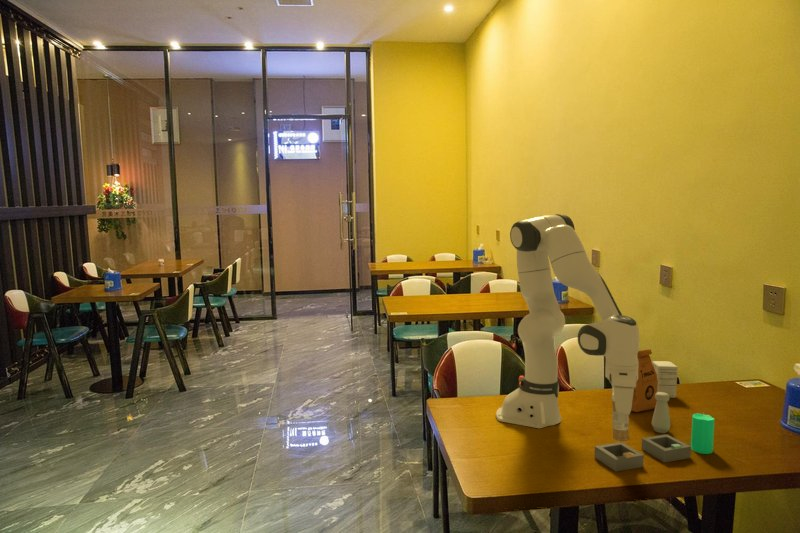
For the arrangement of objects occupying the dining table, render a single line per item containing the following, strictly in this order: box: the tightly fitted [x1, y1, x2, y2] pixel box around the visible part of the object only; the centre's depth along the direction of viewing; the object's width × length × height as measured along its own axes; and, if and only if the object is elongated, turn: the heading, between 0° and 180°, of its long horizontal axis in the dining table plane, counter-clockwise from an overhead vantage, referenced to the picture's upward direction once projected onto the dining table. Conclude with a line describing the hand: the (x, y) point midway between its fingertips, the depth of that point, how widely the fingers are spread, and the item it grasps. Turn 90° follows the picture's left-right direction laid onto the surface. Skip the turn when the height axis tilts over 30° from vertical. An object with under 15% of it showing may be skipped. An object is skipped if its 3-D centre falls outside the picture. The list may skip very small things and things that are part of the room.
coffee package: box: [631, 348, 658, 413], centre depth 208 cm, size 10×12×22 cm
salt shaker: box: [651, 392, 671, 434], centre depth 188 cm, size 6×6×13 cm
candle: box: [690, 411, 716, 455], centre depth 173 cm, size 6×6×12 cm
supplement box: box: [651, 360, 678, 399], centre depth 223 cm, size 7×7×13 cm
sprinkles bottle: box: [611, 392, 630, 442], centre depth 165 cm, size 5×5×13 cm
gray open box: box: [594, 441, 645, 472], centre depth 166 cm, size 10×10×4 cm
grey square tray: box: [641, 433, 692, 463], centre depth 171 cm, size 10×10×4 cm
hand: (620, 418), depth 165 cm, fingers closed on sprinkles bottle, 4 cm apart
